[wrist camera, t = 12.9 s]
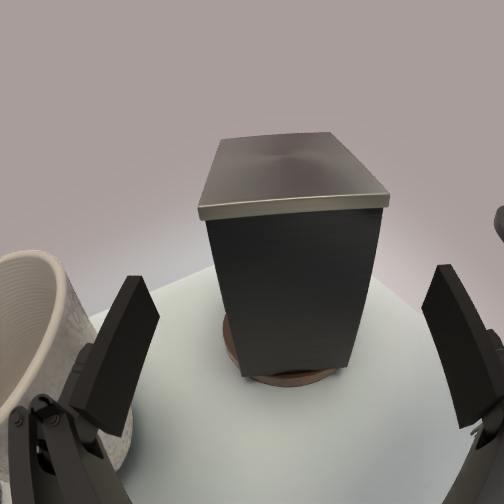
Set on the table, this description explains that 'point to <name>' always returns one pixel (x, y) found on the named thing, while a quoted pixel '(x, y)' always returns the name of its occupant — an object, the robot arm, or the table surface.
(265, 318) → the bin
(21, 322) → the planter
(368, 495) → the table surface
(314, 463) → the table surface
